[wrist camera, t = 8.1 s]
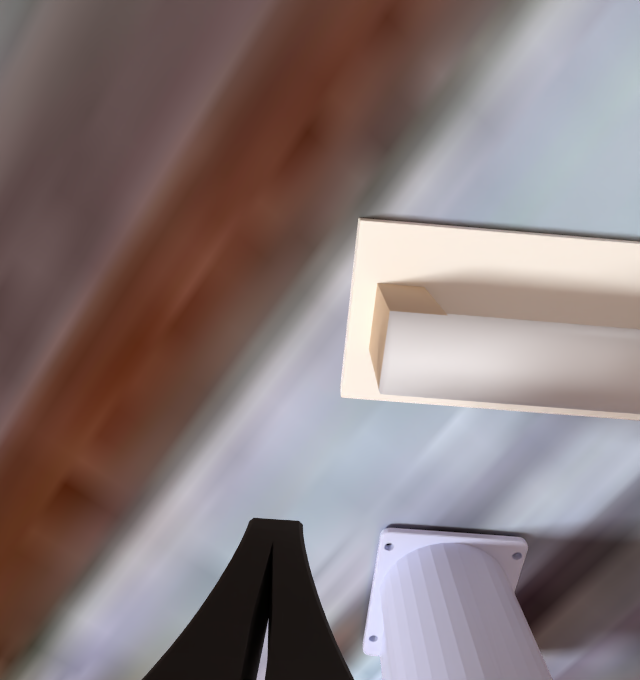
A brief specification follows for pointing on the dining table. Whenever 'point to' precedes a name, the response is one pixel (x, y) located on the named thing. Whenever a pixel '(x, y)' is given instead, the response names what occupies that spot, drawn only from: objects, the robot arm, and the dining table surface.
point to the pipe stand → (494, 320)
